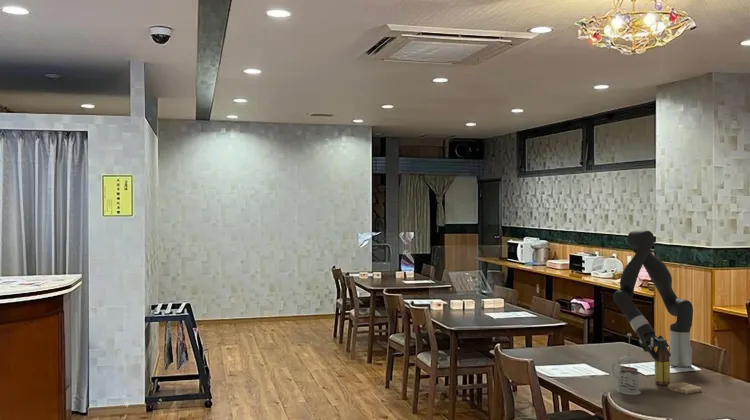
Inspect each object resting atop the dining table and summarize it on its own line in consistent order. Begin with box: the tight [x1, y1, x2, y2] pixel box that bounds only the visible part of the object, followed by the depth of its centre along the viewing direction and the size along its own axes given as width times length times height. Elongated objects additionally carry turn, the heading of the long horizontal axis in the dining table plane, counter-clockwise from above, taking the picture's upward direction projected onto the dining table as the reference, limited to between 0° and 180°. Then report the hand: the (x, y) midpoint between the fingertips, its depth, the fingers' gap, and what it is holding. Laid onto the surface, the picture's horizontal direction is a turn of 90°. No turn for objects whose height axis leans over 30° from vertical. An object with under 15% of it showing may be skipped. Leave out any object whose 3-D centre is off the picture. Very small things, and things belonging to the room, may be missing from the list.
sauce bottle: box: [654, 338, 671, 386], centre depth 288 cm, size 6×6×20 cm
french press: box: [611, 332, 642, 396], centre depth 276 cm, size 10×12×25 cm
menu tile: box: [667, 381, 703, 395], centre depth 279 cm, size 2×10×9 cm
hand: (663, 357), depth 288 cm, fingers open, 8 cm apart
